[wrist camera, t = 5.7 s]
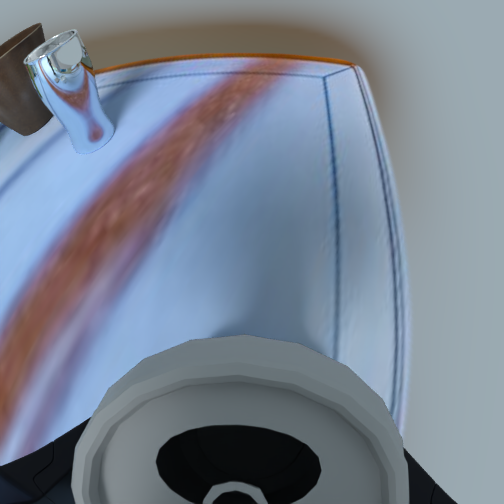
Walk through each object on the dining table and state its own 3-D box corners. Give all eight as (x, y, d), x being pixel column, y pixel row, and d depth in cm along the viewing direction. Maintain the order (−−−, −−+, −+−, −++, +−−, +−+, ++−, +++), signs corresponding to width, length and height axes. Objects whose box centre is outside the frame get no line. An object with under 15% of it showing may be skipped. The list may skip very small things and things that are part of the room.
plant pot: (-8, 158, 33) (-53, 96, 19) (32, 101, 40) (1, 42, 25) (45, 147, 32) (-5, 64, 18) (88, 86, 39) (59, 12, 24)
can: (320, 366, 15) (446, 310, 5) (316, 488, 12) (405, 613, 1) (185, 362, 16) (50, 299, 5) (181, 483, 12) (67, 592, 1)
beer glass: (128, 125, 33) (91, 25, 19) (91, 163, 30) (36, 63, 17) (96, 116, 34) (59, 31, 21) (62, 151, 32) (13, 65, 18)
